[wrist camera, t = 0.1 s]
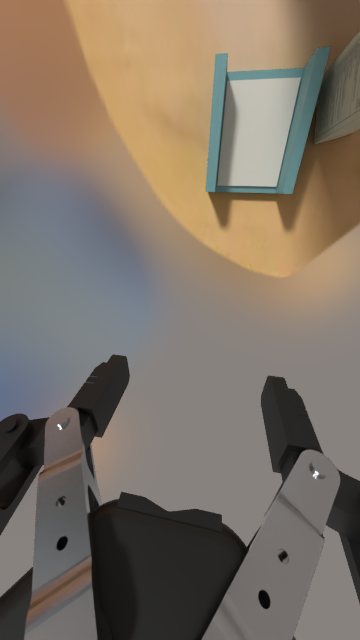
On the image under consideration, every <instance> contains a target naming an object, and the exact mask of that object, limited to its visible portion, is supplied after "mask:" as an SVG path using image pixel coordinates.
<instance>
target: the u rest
mask: <svg viewBox="0 0 360 640" xmlns="http://www.w3.org/2000/svg"><path fill="white" fill-rule="evenodd" d="M330 49H331V47H318V48H317V49H316V51H315V52H314V54H313V55H312V57H311V58H310V60H309V61H308V63H307V64H306V66H305V67H304V68H295V69H276V70H257V71H238V72H227V57H228V53H224V54H216V57H215V71H214V84H213V98H212V112H211V126H210V139H209V153H208V167H207V181H206V192H241V193H279V194H292V193H293V190H294V186H295V182H296V178H297V174H298V171H299V167H300V163H301V159H302V155H303V152H304V148H305V144H306V140H307V136H308V133H309V129H310V125H311V121H312V117H313V114H314V110H315V106H316V102H317V98H318V94H319V91H320V87H321V83H322V79H323V75H324V72H325V68H326V64H327V60H328V56H329V53H330Z"/></svg>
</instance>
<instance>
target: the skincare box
mask: <svg viewBox="0 0 360 640" xmlns="http://www.w3.org/2000/svg"><path fill="white" fill-rule="evenodd" d="M358 130H360V30H359V32H358V33H357V34H356V35H355V37H354V38H353V39H352V40H351V42H350V43H349V44H348V45H347V47H346V48H345V49H344V50H343V52H342V53H341V54H340V55H339V57H338V58H337V59H336V60H335V62H334V63H333V64H332V65H331V67H330V68H329V69H328V70H327V72H326V73H325V74H324V75H323V79H322V83H321V87H320V91H319V94H318V98H317V109H316V122H315V138H314V143H315V144H317V143H321V142H325V141H329V140H332V139H336V138H340V137H343V136H346V135H349V134H352V133H354V132H356V131H358Z"/></svg>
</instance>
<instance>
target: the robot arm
mask: <svg viewBox="0 0 360 640" xmlns="http://www.w3.org/2000/svg"><path fill="white" fill-rule="evenodd" d="M129 377H130V374H129V368H128V362H127V357H126V356H120V355H112V356H111V357H110V359H109V361H108V362H107V363H105V362H103V363H101V364H100V365H99V366H98V367H96V368H95V369H94V371H93V372H92V373H91V375H90V377H88V379H87V380H86V383H84V384H83V386H82V387H81V389H80V390H79V392H78V393H77V394H76V396H75V397H74V399H73V400H72V401H71V403H70V404H69V405H68V406H67V408H63V409H60V410H58V411H57V412H55V413H54V414H53V415H51V417H48V418H42V419H35V420H29V419H28V417H27V416H26V415H24V414H15V415H11V416H9V417H7V418H5V419H4V420H2V421H1V422H0V535H1V533H2V532H3V530H4V528H5V527H6V525H7V523H8V522H9V520H10V518H11V517H12V515H13V513H14V512H15V510H16V508H17V506H18V505H19V503H20V502H21V500H22V498H23V496H24V495H25V493H26V491H27V490H28V488H29V486H30V485H31V483H32V482H33V480H34V478H35V477H36V475H37V473H38V471H39V470H40V468H41V467H42V465H44V470H43V472H41V473H40V474H39V477H38V483H37V502H36V522H35V540H34V561H33V567H32V568H31V569H30V570H29V571H28V572H27V573H26V574H25V575H24V576H22V577H21V578H20V579H19V580H18V581H17V582H16V583H15V584H14V585H13V586H12V587H11V588H10V589H8V590H7V591H6V592H5V593H4V594H3V595H2V596H1V597H0V640H296V639H295V637H294V633H295V630H296V627H297V624H298V621H299V618H300V615H301V612H302V609H303V606H304V603H305V600H306V597H307V594H308V591H309V588H310V585H311V582H312V579H313V576H314V573H315V570H316V567H317V564H318V561H319V558H320V555H321V552H322V549H323V546H324V537H323V531H324V528H325V525H327V526H328V527H330V528H332V529H334V530H335V531H337V532H339V535H340V538H341V542H342V545H343V548H344V552H345V555H346V559H347V562H348V565H349V568H350V572H351V576H352V579H353V582H354V586H355V589H356V592H357V596H358V599H359V603H360V481H358V480H356V479H354V478H352V477H350V476H348V475H346V474H344V473H342V472H341V471H339V470H338V469H337V468H336V467H335V465H334V464H333V463H332V462H331V460H330V459H329V458H327V457H326V456H325V455H324V454H323V452H322V450H321V447H320V445H319V442H318V440H317V437H316V434H315V432H314V429H313V427H312V424H311V421H310V419H309V416H308V414H307V411H306V410H305V405H304V403H303V400H302V398H301V397H300V396H299V395H298V393H297V392H296V391H295V389H289V388H288V387H287V384H286V381H285V379H284V378H283V377H275V376H268V377H267V380H266V383H265V386H264V389H263V392H262V395H261V407H262V412H263V418H264V424H265V429H266V435H267V440H268V446H269V452H270V457H271V463H272V469H273V472H277V473H281V475H282V480H283V483H282V484H281V486H280V488H279V490H278V491H277V493H276V495H275V497H274V499H273V500H272V502H271V504H270V506H269V508H268V510H267V511H266V513H265V515H264V517H263V518H262V520H261V522H260V524H259V526H258V527H257V529H256V530H255V532H254V534H253V536H252V538H251V539H250V541H249V543H248V545H247V547H246V546H245V544H244V543H243V541H242V540H241V539H240V538H239V536H238V535H237V534H236V533H235V532H234V531H233V530H232V529H230V528H229V527H228V526H227V525H225V524H223V523H222V515H220V514H216V513H212V512H207V511H203V510H199V509H191V510H182V511H172V512H169V511H166V510H164V509H163V508H161V507H160V506H158V505H156V504H155V503H153V502H152V501H150V500H148V499H147V498H145V497H142V496H137V495H133V494H129V493H124V492H121V495H120V498H119V499H116V500H112V501H109V502H107V503H105V504H103V505H102V502H101V497H100V492H99V488H98V484H97V479H96V473H95V466H94V460H93V454H92V446H91V442H92V440H93V438H94V437H95V436H96V437H101V438H102V436H103V434H104V432H105V430H106V428H107V426H108V424H109V422H110V420H111V418H112V416H113V414H114V412H115V410H116V408H117V405H118V404H119V401H120V399H121V397H122V395H123V393H124V391H125V389H126V387H127V385H128V382H129Z"/></svg>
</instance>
